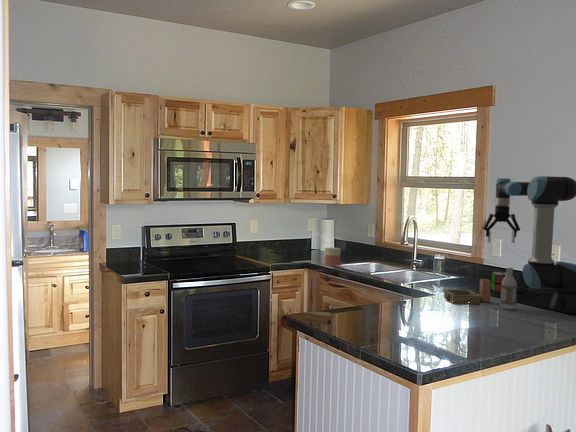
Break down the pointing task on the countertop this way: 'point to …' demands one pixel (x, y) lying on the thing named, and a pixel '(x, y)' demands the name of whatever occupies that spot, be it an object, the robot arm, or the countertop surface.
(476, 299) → the brown shallow tray
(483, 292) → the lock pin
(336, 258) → the canned food
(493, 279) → the puzzle cube
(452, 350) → the countertop surface
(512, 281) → the bath foam
